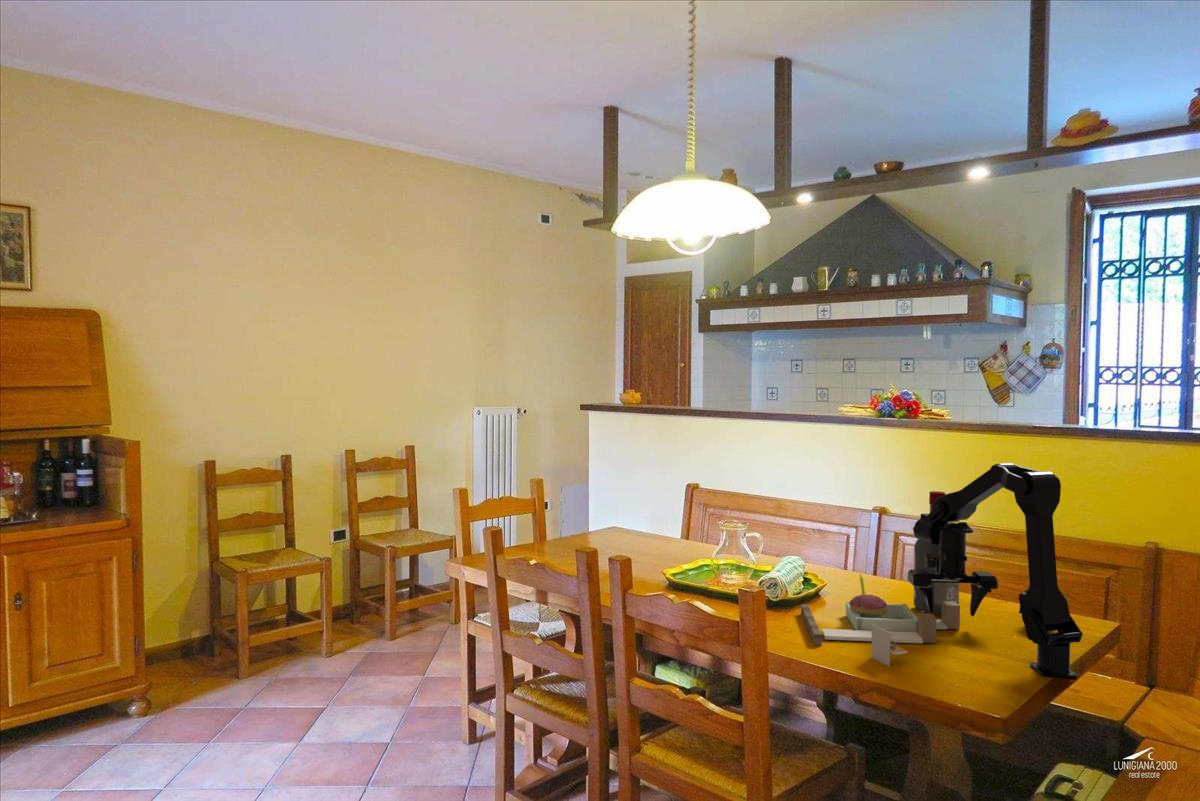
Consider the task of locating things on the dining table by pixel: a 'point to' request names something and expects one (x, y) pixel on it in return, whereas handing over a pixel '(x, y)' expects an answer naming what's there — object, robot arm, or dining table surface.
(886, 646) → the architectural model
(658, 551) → the dining table surface
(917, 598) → the liquor
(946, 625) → the tray
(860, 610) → the cupcake
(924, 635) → the cream lane
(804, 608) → the walnut back rail
